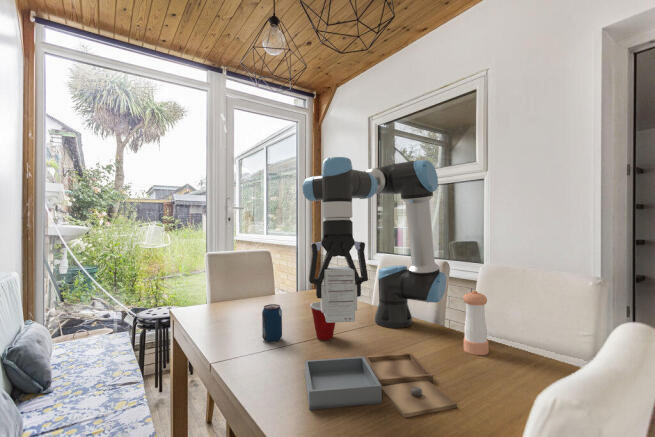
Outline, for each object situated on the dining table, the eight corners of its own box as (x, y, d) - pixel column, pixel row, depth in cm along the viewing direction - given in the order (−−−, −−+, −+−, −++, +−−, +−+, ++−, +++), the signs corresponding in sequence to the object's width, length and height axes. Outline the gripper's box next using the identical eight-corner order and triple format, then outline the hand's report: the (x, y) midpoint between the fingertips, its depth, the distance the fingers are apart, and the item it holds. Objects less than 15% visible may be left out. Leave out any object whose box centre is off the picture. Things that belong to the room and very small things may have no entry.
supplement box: (323, 314, 86) (322, 266, 86) (351, 313, 86) (350, 265, 86) (325, 323, 78) (324, 270, 78) (355, 322, 79) (355, 269, 79)
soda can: (285, 338, 119) (285, 304, 119) (275, 344, 112) (274, 309, 112) (269, 335, 121) (269, 303, 122) (258, 341, 115) (258, 307, 115)
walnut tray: (411, 359, 99) (411, 353, 99) (433, 382, 84) (433, 375, 85) (364, 362, 97) (364, 356, 97) (378, 386, 83) (378, 379, 83)
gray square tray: (364, 371, 91) (363, 356, 91) (381, 403, 75) (381, 385, 75) (304, 375, 89) (304, 360, 89) (309, 409, 73) (309, 391, 73)
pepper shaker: (487, 347, 107) (485, 289, 107) (490, 356, 100) (489, 293, 100) (462, 345, 109) (461, 287, 110) (464, 353, 102) (463, 292, 103)
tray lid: (426, 382, 84) (426, 374, 84) (456, 407, 73) (456, 398, 73) (380, 390, 81) (380, 381, 81) (404, 417, 69) (404, 408, 69)
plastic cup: (337, 344, 112) (337, 308, 112) (307, 342, 114) (306, 307, 114) (342, 333, 123) (342, 301, 123) (314, 331, 125) (314, 300, 125)
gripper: (372, 219, 88) (374, 304, 87) (296, 220, 85) (297, 308, 85) (380, 218, 80) (382, 312, 80) (297, 219, 78) (299, 316, 77)
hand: (338, 310), depth 82 cm, fingers closed on supplement box, 7 cm apart
